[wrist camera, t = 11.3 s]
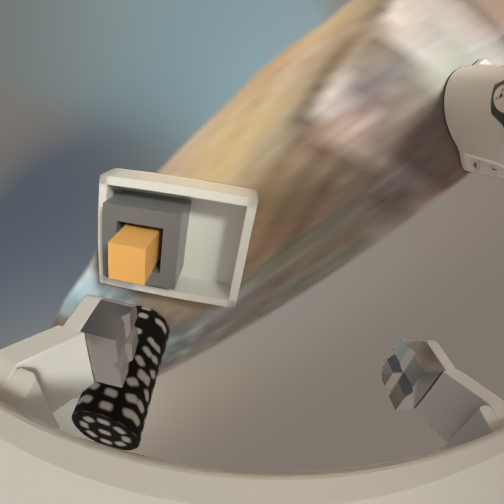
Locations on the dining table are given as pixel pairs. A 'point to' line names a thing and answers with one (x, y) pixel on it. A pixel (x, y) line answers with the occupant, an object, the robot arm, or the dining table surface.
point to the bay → (204, 233)
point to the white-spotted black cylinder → (125, 390)
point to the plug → (134, 253)
